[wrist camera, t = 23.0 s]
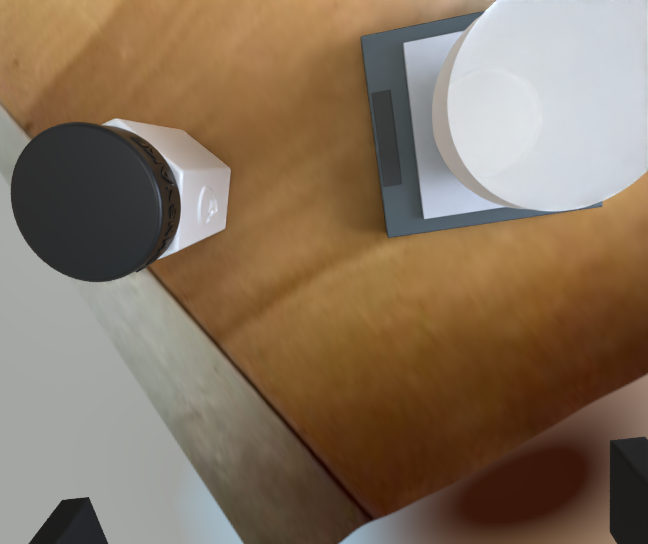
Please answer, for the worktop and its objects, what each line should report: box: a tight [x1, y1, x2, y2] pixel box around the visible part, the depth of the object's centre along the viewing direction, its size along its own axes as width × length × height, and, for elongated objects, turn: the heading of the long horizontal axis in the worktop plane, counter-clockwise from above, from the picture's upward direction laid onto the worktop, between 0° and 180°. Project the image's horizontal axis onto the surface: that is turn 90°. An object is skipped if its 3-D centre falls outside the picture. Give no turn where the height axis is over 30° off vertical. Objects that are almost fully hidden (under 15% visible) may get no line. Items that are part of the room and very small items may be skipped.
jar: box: [11, 118, 231, 282], centre depth 29 cm, size 9×8×12 cm
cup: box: [432, 0, 648, 211], centre depth 23 cm, size 9×9×12 cm
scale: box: [361, 11, 602, 238], centre depth 30 cm, size 14×13×3 cm
